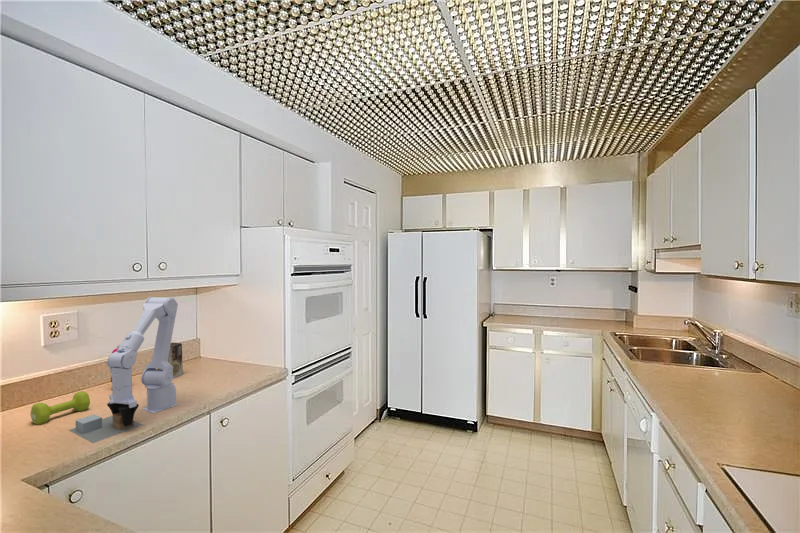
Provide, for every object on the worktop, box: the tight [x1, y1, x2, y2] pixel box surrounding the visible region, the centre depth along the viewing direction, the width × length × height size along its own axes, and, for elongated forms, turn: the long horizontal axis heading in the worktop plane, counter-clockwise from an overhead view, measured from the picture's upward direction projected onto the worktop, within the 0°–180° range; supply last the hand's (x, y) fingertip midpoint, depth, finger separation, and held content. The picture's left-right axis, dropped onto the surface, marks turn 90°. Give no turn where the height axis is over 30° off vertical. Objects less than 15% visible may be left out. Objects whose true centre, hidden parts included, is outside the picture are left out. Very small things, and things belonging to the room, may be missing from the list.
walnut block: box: [112, 412, 135, 430], centre depth 135 cm, size 4×4×4 cm
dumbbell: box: [30, 390, 91, 425], centre depth 143 cm, size 16×8×7 cm, turn 153°
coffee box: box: [157, 341, 184, 379], centre depth 188 cm, size 9×6×16 cm
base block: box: [75, 414, 103, 434], centre depth 133 cm, size 6×6×4 cm
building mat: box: [68, 415, 144, 444], centre depth 134 cm, size 15×18×1 cm
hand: (123, 423), depth 135 cm, fingers open, 6 cm apart
